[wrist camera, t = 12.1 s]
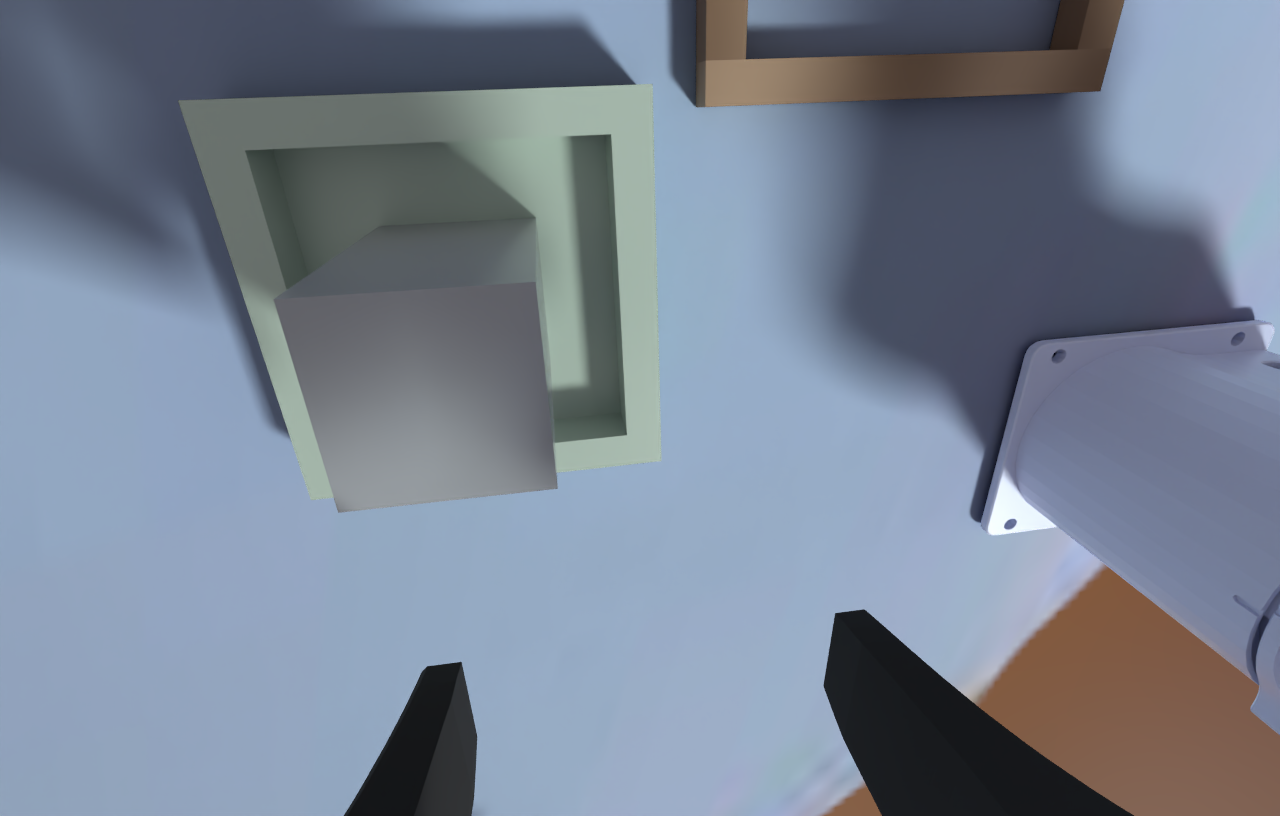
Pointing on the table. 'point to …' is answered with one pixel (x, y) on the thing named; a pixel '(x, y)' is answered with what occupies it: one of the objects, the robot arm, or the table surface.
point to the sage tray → (453, 192)
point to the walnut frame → (899, 64)
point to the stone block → (427, 364)
